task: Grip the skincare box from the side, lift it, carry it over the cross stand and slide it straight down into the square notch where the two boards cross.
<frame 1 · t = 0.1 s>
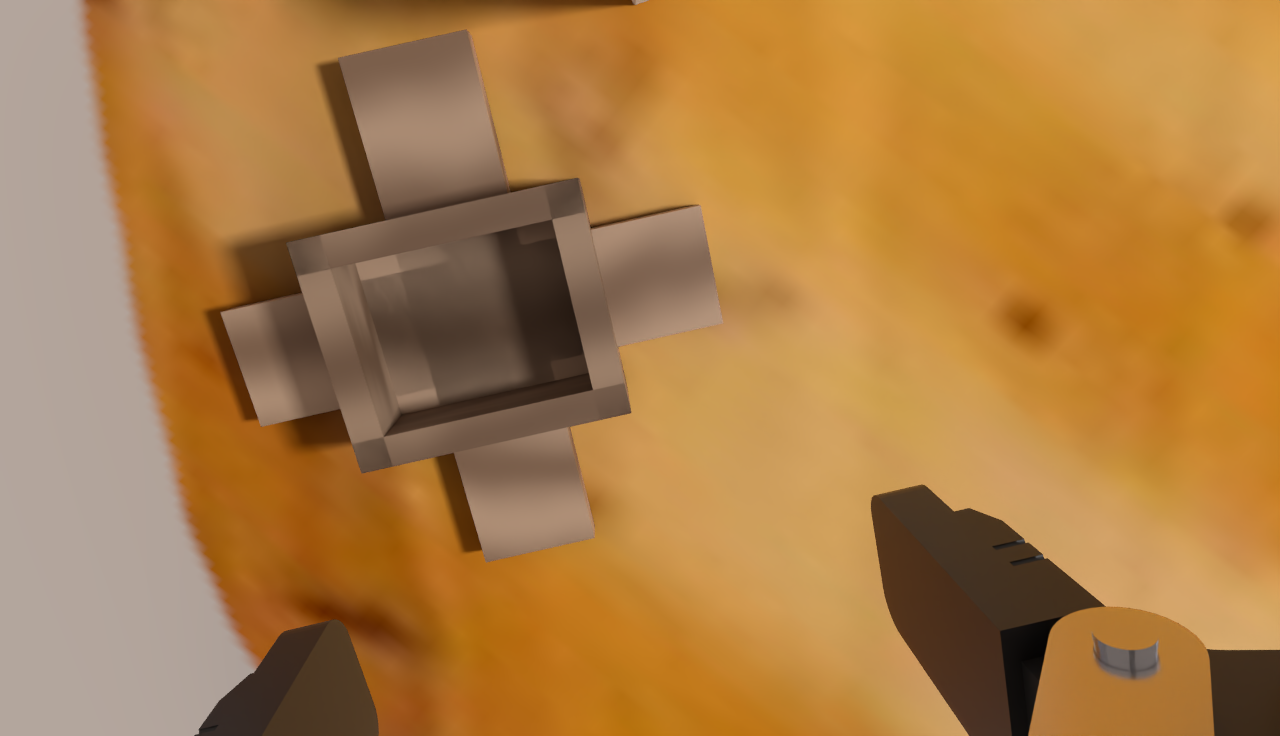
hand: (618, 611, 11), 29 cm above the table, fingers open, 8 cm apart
cross stand: (481, 312, 39), on the table
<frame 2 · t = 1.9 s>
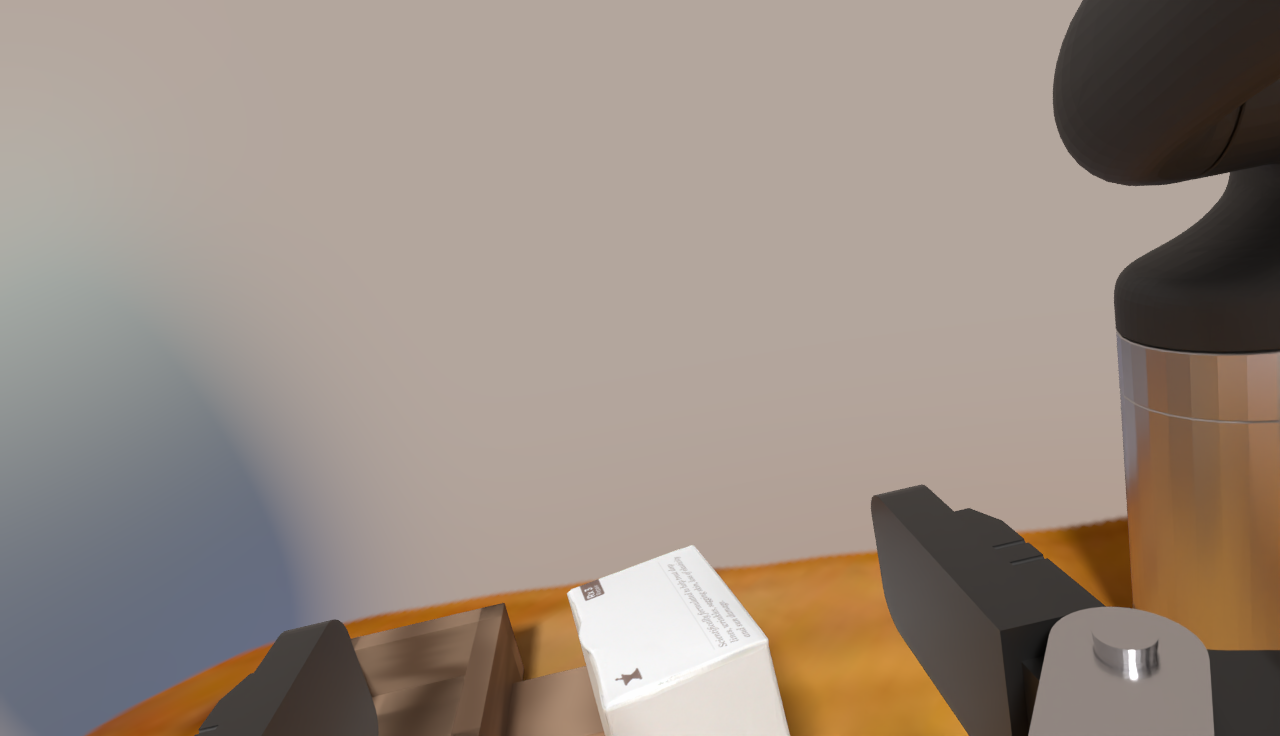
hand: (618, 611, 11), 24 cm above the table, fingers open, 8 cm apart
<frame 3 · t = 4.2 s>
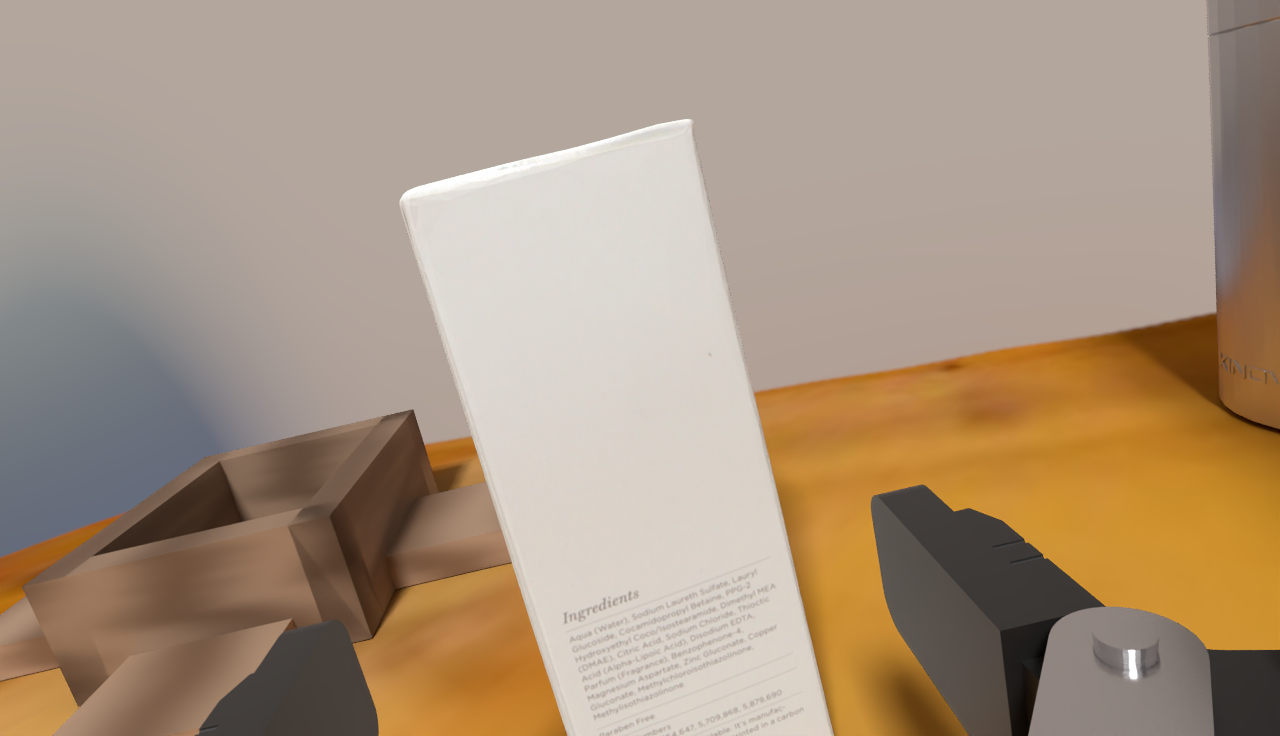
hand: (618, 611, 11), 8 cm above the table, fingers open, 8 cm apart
cross stand: (292, 582, 34), on the table
skincare box: (673, 717, 21), on the table
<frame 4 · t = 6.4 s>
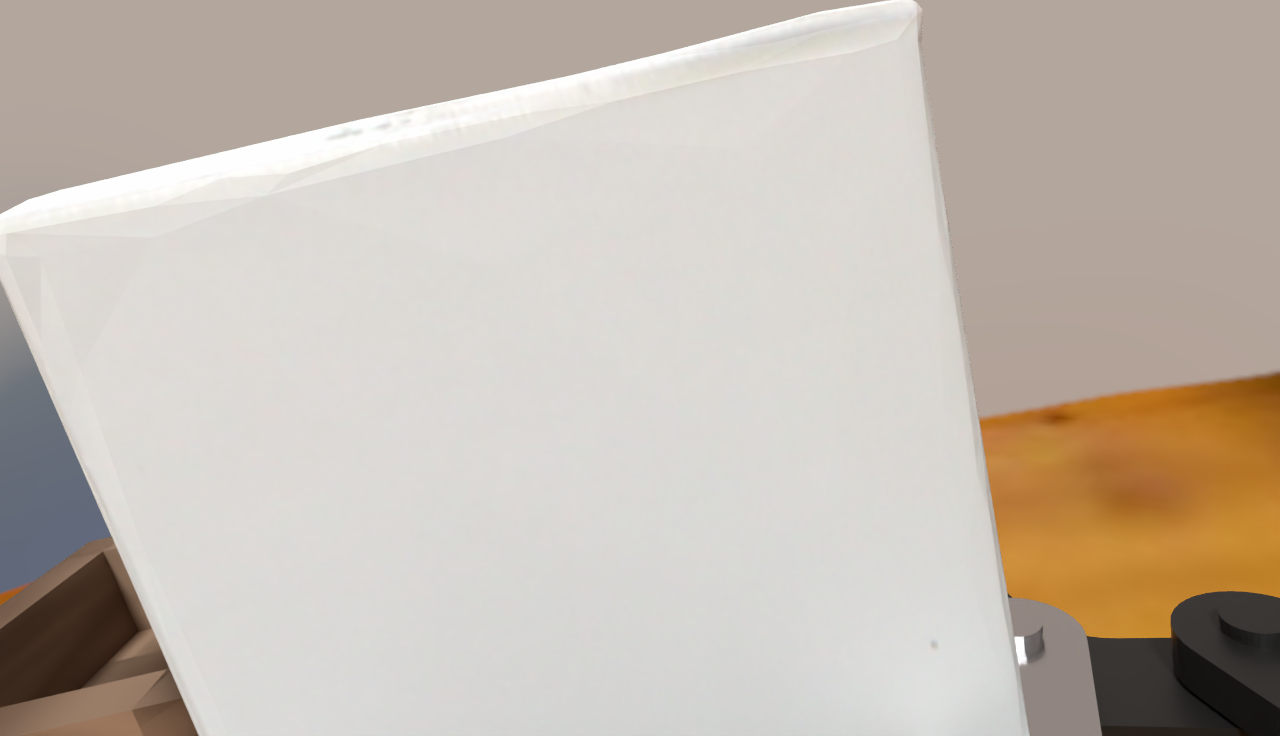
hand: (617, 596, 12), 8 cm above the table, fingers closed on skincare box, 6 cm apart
cross stand: (186, 731, 25), on the table
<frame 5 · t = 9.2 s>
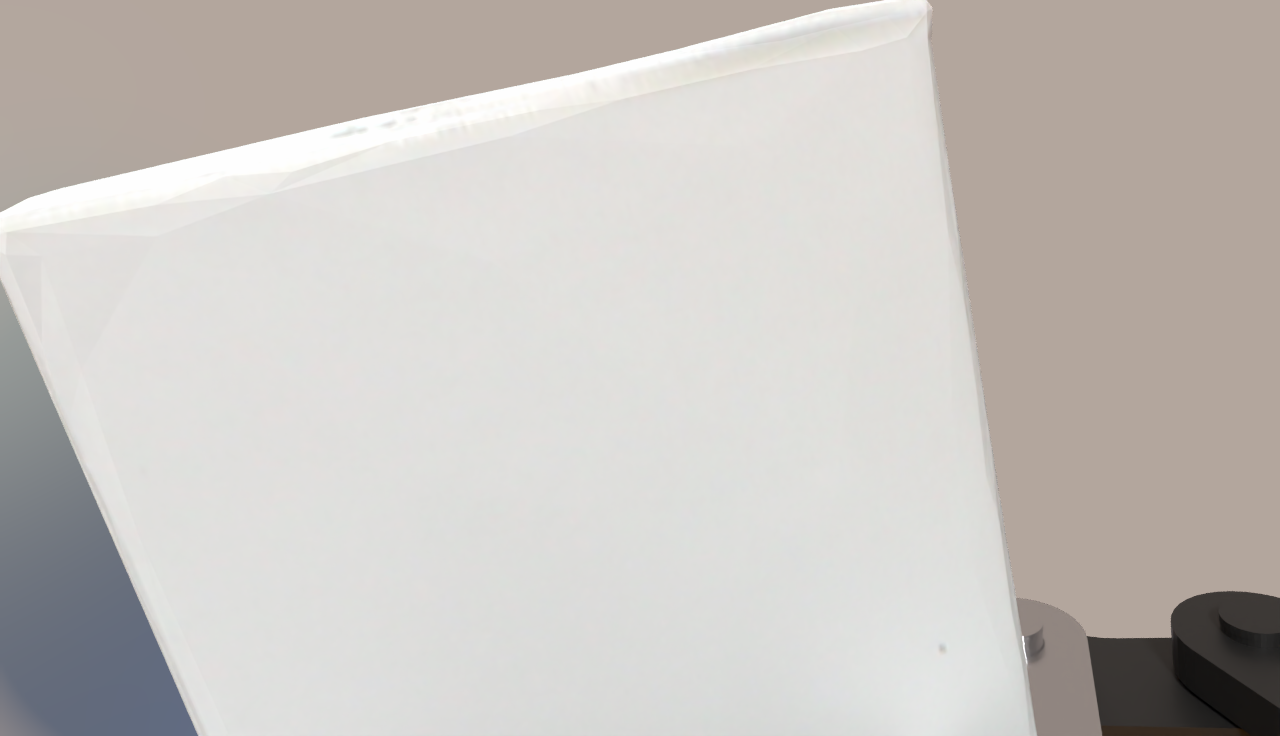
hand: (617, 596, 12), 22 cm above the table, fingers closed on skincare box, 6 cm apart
when the fingers open (11 cm above the table, at t = 12.1 s): skincare box drops 1 cm, resting on cross stand.
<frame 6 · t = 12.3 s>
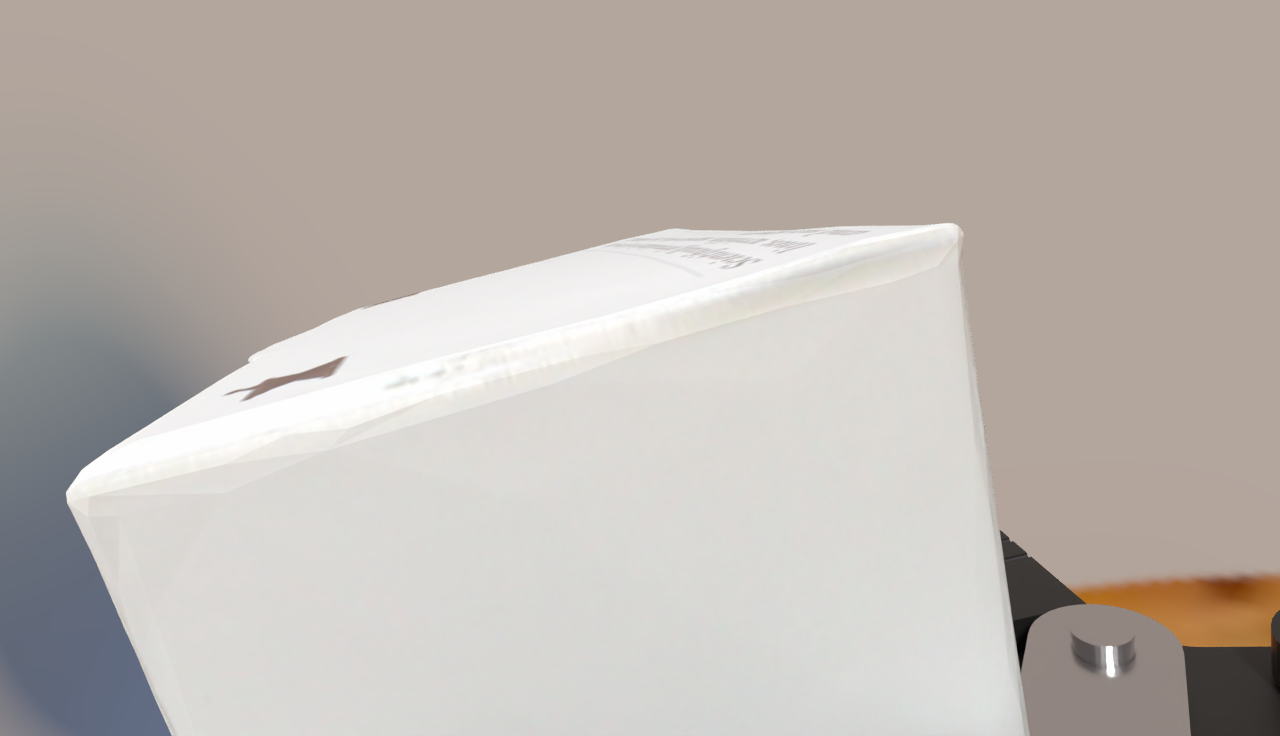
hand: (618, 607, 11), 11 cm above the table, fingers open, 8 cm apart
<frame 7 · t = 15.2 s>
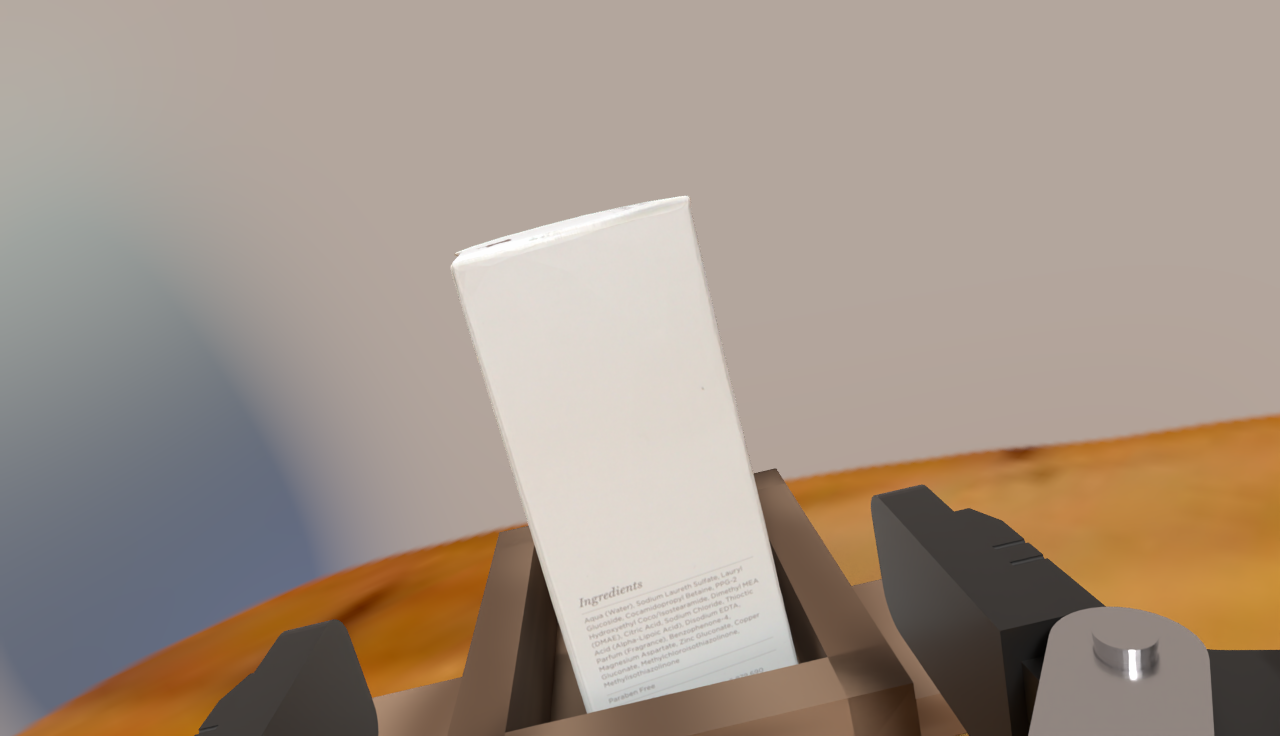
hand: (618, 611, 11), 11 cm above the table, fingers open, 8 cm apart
cross stand: (683, 723, 24), on the table
skincare box: (677, 691, 24), point 1 cm above the table, touching cross stand
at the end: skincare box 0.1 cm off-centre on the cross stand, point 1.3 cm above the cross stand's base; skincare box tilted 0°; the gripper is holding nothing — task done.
